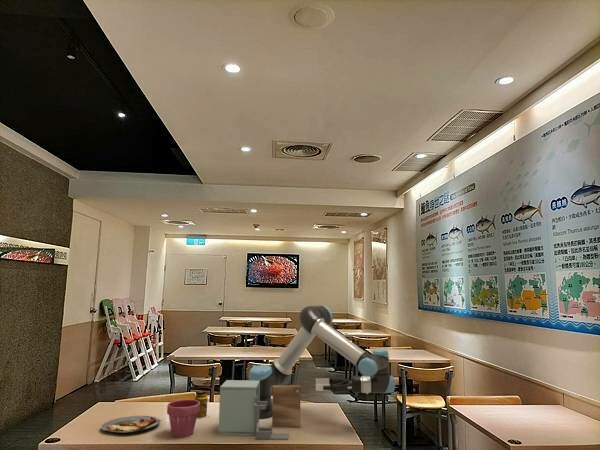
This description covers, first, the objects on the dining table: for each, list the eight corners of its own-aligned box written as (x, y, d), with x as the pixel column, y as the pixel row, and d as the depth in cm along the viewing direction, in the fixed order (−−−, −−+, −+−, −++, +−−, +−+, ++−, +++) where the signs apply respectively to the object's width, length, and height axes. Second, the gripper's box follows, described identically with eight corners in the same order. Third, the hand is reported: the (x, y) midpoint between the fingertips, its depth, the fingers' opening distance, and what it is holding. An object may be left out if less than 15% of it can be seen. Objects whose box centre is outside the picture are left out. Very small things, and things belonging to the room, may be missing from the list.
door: (272, 425, 197) (273, 385, 200) (300, 425, 196) (300, 385, 199) (271, 428, 193) (272, 387, 195) (300, 428, 192) (300, 387, 195)
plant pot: (162, 431, 187) (164, 401, 189) (193, 426, 193) (195, 397, 195) (169, 441, 174) (171, 409, 176) (202, 436, 181) (204, 404, 183)
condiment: (209, 417, 209) (210, 391, 211) (192, 419, 204) (194, 393, 206) (204, 413, 215) (205, 388, 217) (188, 416, 210) (189, 391, 212)
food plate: (170, 422, 199) (170, 414, 199) (136, 439, 177) (136, 430, 177) (127, 418, 207) (127, 411, 207) (89, 434, 185) (90, 425, 185)
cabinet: (225, 424, 197) (226, 380, 200) (290, 425, 196) (291, 381, 199) (215, 438, 178) (217, 389, 181) (287, 440, 177) (288, 390, 180)
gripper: (364, 399, 183) (315, 399, 184) (358, 387, 208) (315, 387, 209) (363, 381, 185) (315, 381, 185) (358, 371, 209) (315, 371, 210)
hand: (315, 384), depth 197 cm, fingers open, 13 cm apart
